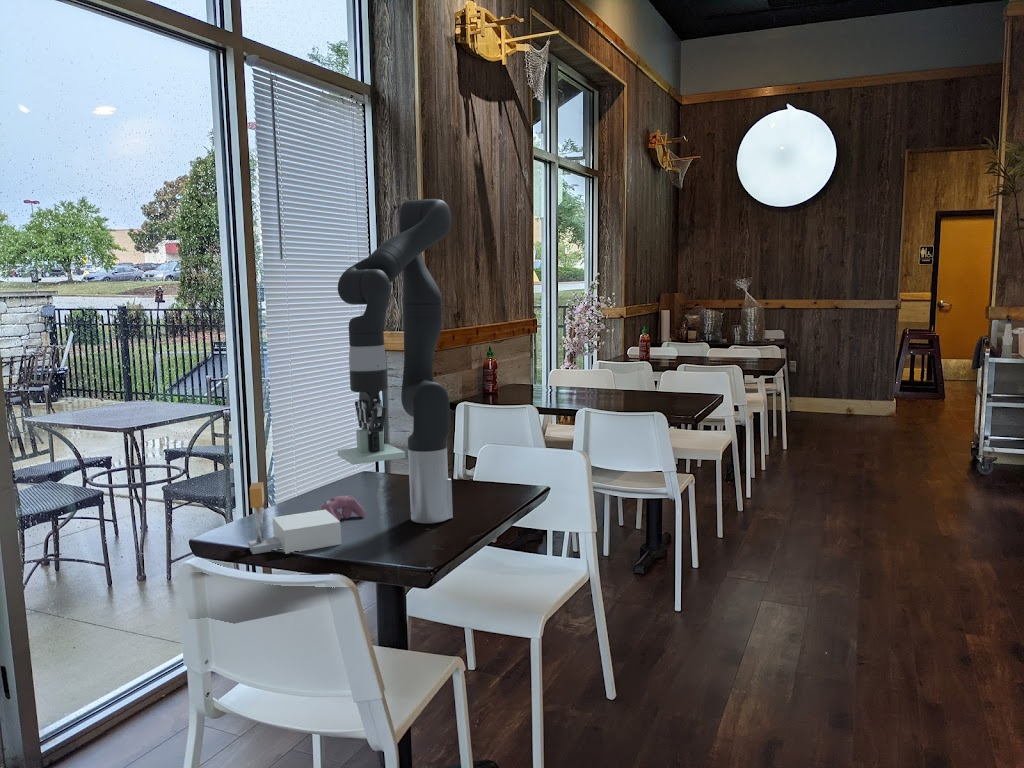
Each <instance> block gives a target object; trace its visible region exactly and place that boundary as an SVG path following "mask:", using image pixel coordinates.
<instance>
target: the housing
mask: <svg viewBox="0 0 1024 768" xmlns="http://www.w3.org/2000/svg"><path fill="white" fill-rule="evenodd" d="M341 528H342V527H341V520H338V519H336V518H335V517H334V516H333V515H332V514H331V513H329V512H328V511H327V510H321V509H320V510H319V509H318V510H313V511H307V512H301V513H300V512H299V513H293V514H287V515H281V516H273V517H272V531H273V532H272V533H273V537H267V538H264V541H263V542H256V539H254V540H253V539H252V540H248V548H249V547H250V549H249V551H250V552H251V554H252V555H256V554H262V553H268V552H272V551H271V550H274V549H280V548H282V549H283V550H284V551H283V550H282V549H281V550H282V551H283V553H284V552H285V553H284V554H285V555H287V554H291V553H290V552H293V553H295V552H294V551H299V552H304V551H310V550H317V549H321V548H327V547H333V546H339V545H342V530H341Z"/></svg>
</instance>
